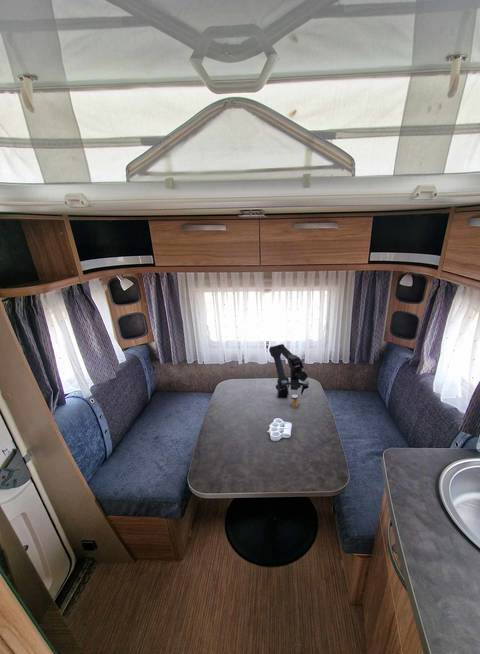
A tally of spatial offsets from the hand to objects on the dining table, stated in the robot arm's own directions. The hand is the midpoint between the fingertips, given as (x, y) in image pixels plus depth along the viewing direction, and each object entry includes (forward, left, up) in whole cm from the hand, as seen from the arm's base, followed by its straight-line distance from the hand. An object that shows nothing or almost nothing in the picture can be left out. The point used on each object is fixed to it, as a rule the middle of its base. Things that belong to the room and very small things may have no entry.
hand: (294, 394), depth 197 cm
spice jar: (0, 0, -9) cm, 9 cm away
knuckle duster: (-8, -29, -9) cm, 32 cm away
